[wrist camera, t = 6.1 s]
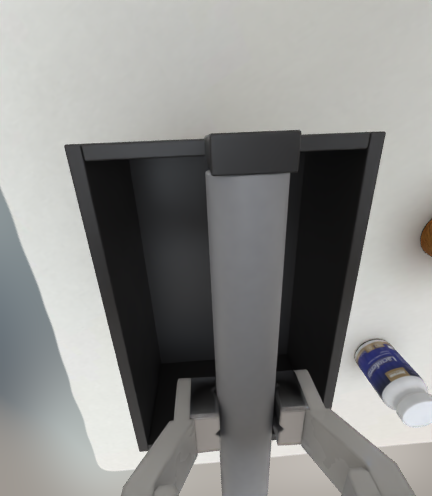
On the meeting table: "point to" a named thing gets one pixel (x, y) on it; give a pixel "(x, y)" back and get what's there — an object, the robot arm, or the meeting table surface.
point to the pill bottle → (396, 382)
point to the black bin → (227, 270)
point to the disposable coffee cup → (427, 238)
